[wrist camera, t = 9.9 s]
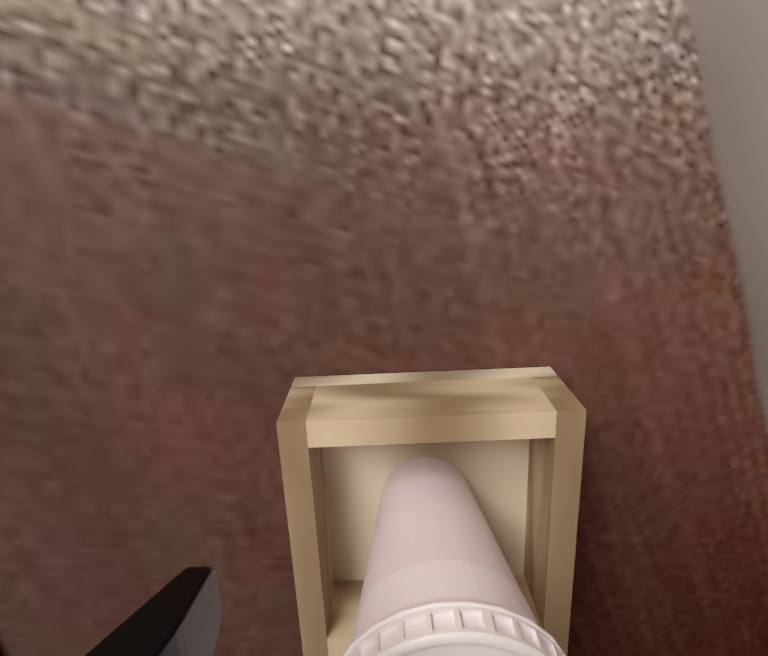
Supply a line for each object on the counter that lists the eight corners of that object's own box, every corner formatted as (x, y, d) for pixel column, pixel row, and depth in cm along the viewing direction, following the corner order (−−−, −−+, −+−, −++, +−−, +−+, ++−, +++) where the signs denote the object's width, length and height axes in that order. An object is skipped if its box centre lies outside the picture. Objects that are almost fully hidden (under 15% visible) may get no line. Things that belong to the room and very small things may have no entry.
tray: (330, 728, 27) (322, 819, 24) (295, 377, 21) (276, 422, 18) (530, 721, 27) (554, 812, 23) (550, 366, 21) (586, 410, 18)
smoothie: (525, 455, 21) (765, 936, 8) (466, 574, 23) (581, 1130, 10) (379, 407, 21) (374, 846, 7) (329, 534, 23) (253, 1070, 9)
